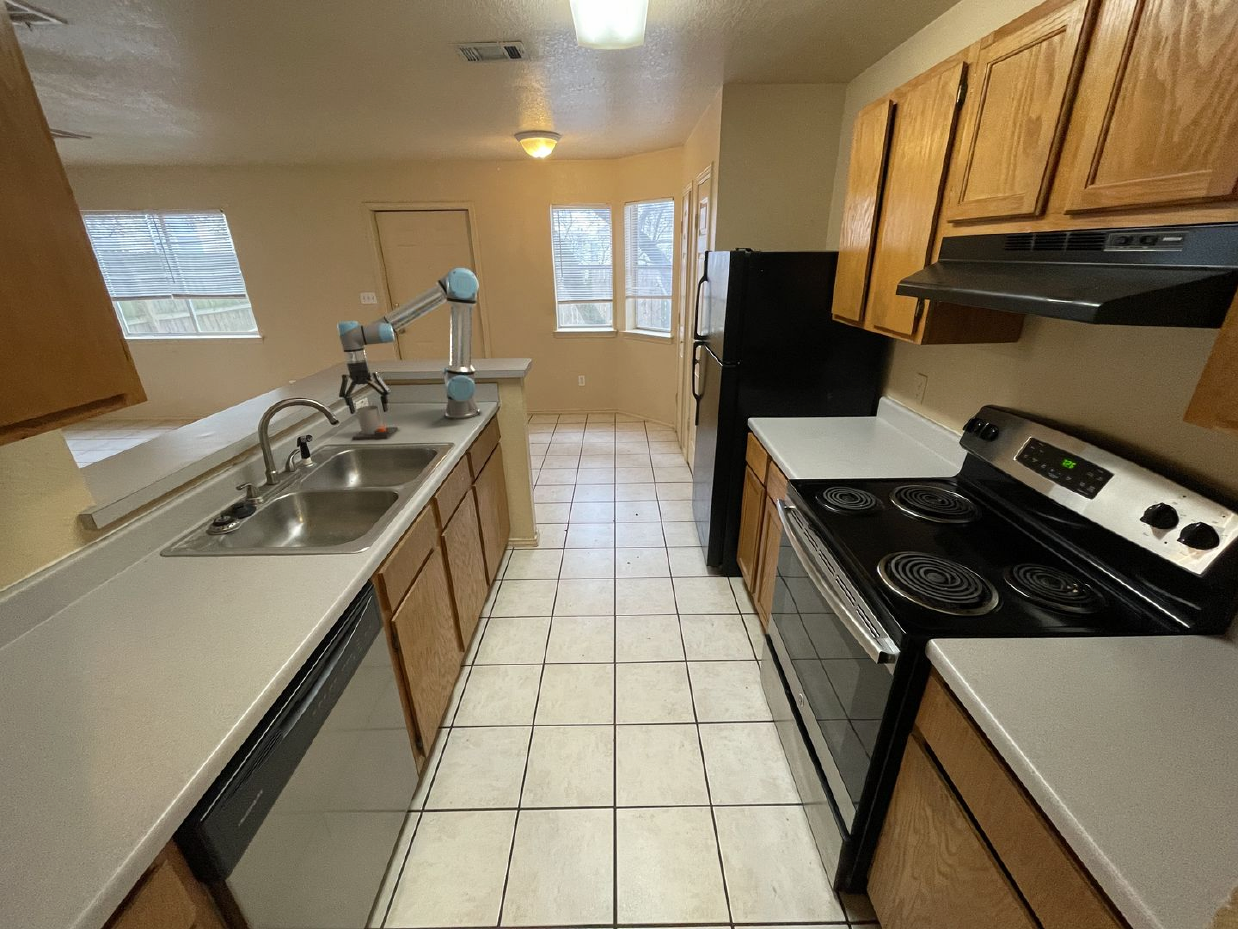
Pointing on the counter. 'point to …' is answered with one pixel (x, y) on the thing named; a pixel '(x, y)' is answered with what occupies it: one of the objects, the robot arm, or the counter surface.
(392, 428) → the scale
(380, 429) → the tare button
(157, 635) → the counter surface
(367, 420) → the cup
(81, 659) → the counter surface
